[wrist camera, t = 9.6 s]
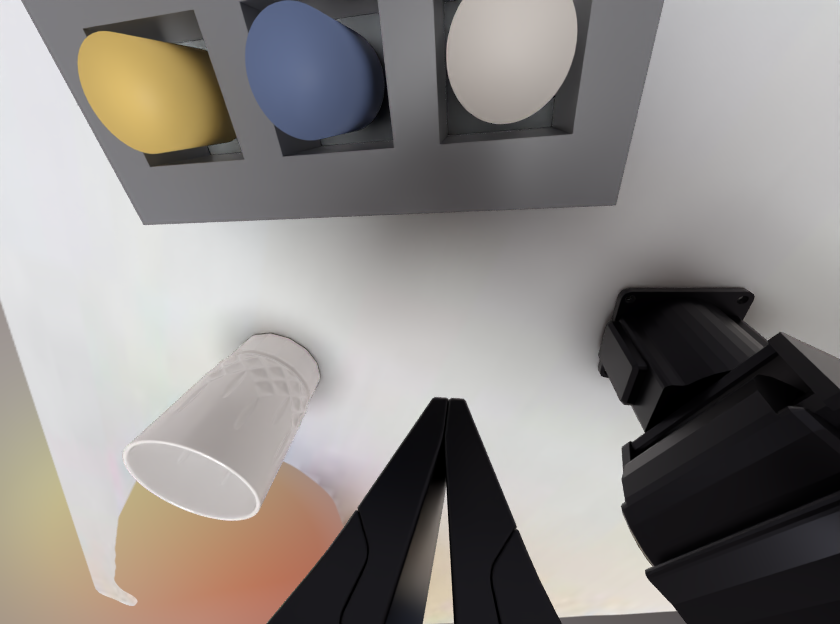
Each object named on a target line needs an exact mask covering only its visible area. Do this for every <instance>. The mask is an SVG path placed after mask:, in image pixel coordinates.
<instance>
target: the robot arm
mask: <svg viewBox="0 0 840 624" xmlns="http://www.w3.org/2000/svg"><path fill="white" fill-rule="evenodd" d="M628 296H632V298H631V299H629V300H625V299H626V298H627V297H628ZM742 296H743V297H742ZM740 297H742V298H741V299H739V298H740ZM738 299H739V300H738ZM753 300H754V294H753V293H751V292H750V291H748V290H747V289H744V288H629V289H625V290H623V291H622V292H620V294H619V296H618V299H617V302H616V306H615V309H614V313H613V317H612V320H611V321H610V322H609V323H608V324H607V325H606V329H605V332H604V336H603V340H602V343H601V347H600V351H599V358H600V363H599V366H598V370H599V372H600V374H601V376H603V377H606V378H609V379H610V381H611V383H612V385H613V387H614V389H615V391H616V393H617V396H618V398H619V400H620V401H621V402H622V403H623V404H624V405H631V406H632V408H633V410H634V412H635V414H636V416H637V418H638V420H639V422H640V424H641V426H642V428H643V430H644V432H645V433H644V434H643V435H642V436H640V437H639V438H637V439H636V440H635V441H633V442H631V441H630V442H628V443H627V444H625V445H624V446H623V447H622V461H623V475H622V484H623V490H624V496H625V502H624V503H623V504H622V506H621V508H622V513H623V516H624V518H625V520H626V522H627V525H628V527H629V529H630V532H631V533H632V535H633V537H634V539H635V541H636V543H637V545H638V547H639V548H640V550H641V551H642V553H643V554H644V556H645V557H646V559H647V560H648V561H649V563H650V564H651V565H652V566H653V567H650V568H648V569H646V570H645V574H646V576H647V578H648V580H649V581H650V582H651V583H652V584H653V585H654V586H655V587H656V588H657V589H658V590H659V591H660V592H661V593H662V595H663V596H664V597H665V598H666V599H667V600H668V601H669V602H670V603H671V604H672V605H673V606H674V608H675V609H676V610H677V611H678V613H679V614H680V615H681V617H682V618H683V619H684V621H685V622H686V623H687V624H840V359H839V358H836V357H834V356H832V355H830V354H828V353H826V352H823V351H821V350H819V349H817V348H815V347H813V346H811V345H808V344H806V343H804V342H802V341H800V340H798V339H796V338H793V337H791V336H789V335H787V334H785V333H783V332H779V333H778V334H776V335H775V336H774V337H772V338H771V339H770V340H768V341H767V340H766V339H765V338H764V337H762V336H761V335H760V334H759V333H758V332H756V331H755V330H754V329H753V328H752V327H750V326H749V325H748V324H747V323H745V322H744V321H743V319H744V317H745V315H746V313H747V311H748V310H749V308H750V306H751V304H752V302H753ZM605 370H606V371H605ZM446 487H447V505H448V523H449V541H450V559H451V577H452V595H453V613H454V624H561V621H560V619H559V617H558V615H557V614H556V612H555V610H554V608H553V606H552V604H551V601H550V599H549V597H548V595H547V593H546V591H545V589H544V587H543V585H542V583H541V581H540V579H539V577H538V575H537V572H536V570H535V568H534V566H533V563H532V561H531V559H530V557H529V554H528V552H527V550H526V547H525V545H524V542H523V540H522V538H521V535H520V533H519V530H517V529H516V528H517V526H516V523H515V521H514V518H513V516H512V514H511V511H510V509H509V506H508V504H507V501H506V499H505V496H504V494H503V491H502V489H501V487H500V484H499V482H498V479H497V477H496V474H495V472H494V469H493V467H492V464H491V462H490V460H489V457H488V455H487V452H486V450H485V447H484V445H483V442H482V440H481V437H480V435H479V433H478V430H477V428H476V425H475V423H474V420H473V418H472V415H471V413H470V410H469V408H468V406H467V403H466V401H465V400H464V399H460V398H450V399H448V398H442V397H434V398H433V399H432V400H431V401H430V403H429V404H428V406H427V407H426V409H425V410H424V411H423V413H422V414H421V416H420V417H419V419H418V420H417V422H416V423H415V425H414V426H413V427H412V429H411V430H410V432H409V433H408V435H407V436H406V438H405V439H404V441H403V442H402V443H401V445H400V446H399V448H398V449H397V451H396V452H395V454H394V455H393V457H392V458H391V460H390V461H389V462H388V464H387V465H386V467H385V468H384V470H383V471H382V473H381V474H380V476H379V477H378V478H377V480H376V481H375V483H374V484H373V486H372V487H371V489H370V490H369V492H368V493H367V495H366V496H365V497H364V499H363V500H362V502H361V503H360V505H359V506H358V510H356V511H355V512H354V513H353V515H352V516H351V518H350V519H349V521H348V522H347V523H346V525H345V526H344V528H343V529H342V530H341V532H340V533H339V535H338V536H337V537H336V539H335V540H334V541H333V543H332V544H331V546H330V547H329V549H328V550H327V551H326V552H325V554H324V555H323V556H322V557H321V558H320V560H319V561H318V562H317V563H316V565H315V566H314V567H313V568H312V570H311V571H310V572H309V573H308V575H307V576H306V577H305V578H304V579H303V581H302V582H301V583H300V584H299V585H298V587H297V588H296V589H295V590H294V591H293V592H292V594H291V595H290V596H289V597H288V598H287V600H286V601H285V602H284V603H283V605H282V606H281V607H280V608H279V609H278V610H277V612H276V613H275V614H274V615H273V617H272V618H271V619H270V620H269V621H268V622H267V624H423V619H424V613H425V607H426V601H427V596H428V590H429V584H430V578H431V572H432V567H433V561H434V555H435V549H436V543H437V538H438V532H439V526H440V520H441V514H442V509H443V503H444V497H445V491H446Z"/></svg>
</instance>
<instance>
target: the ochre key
mask: <svg viewBox="0 0 840 624" xmlns="http://www.w3.org/2000/svg"><path fill="white" fill-rule="evenodd" d="M78 73H79V78H80V82H81V86H82V88H83V91H84V94H85V96H86V98H87V100H88V102H89V104H90V106H91V107H92V109H93V111H94V112H95V114H96V115H97V117H98V118H99V119H100V121H101V122H102V123H103V124H104V126H105V127H106V128H107V129H108V130H109V131H110V132H111V133H112V134H113V135H114V136H115V137H117V138H118V139H119V140H120V141H122V142H123V143H125V144H126V145H128V146H130V147H131V148H133V149H135V150H138V151H141V152H144V153H149V154H158V153H164V152H171V151H177V150H183V149H189V148H196V147H202V146H208V145H214V144H221V143H227V142H230V141H233V140H234V139H236V138H237V136H236V133H235V130H234V127H233V124H232V121H231V118H230V116H229V113H228V110H227V107H226V104H225V101H224V98H223V95H222V92H221V89H220V86H219V83H218V80H217V77H216V74H215V71H214V68H213V65H212V63H211V60H210V57H209V54H208V51H206V50H202V49H198V48H193V47H188V46H183V45H178V44H173V43H167V42H162V41H157V40H152V39H147V38H142V37H136V36H131V35H126V34H121V33H116V32H110V31H98V32H95V33H92V34H91V35H89V36H88V37H87V38H86V39H84V41H83V43H82V44H81V46H80V49H79V53H78Z"/></svg>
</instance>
